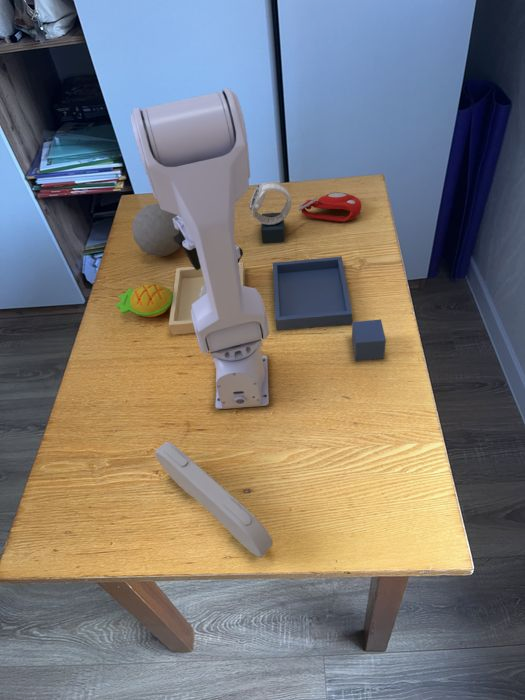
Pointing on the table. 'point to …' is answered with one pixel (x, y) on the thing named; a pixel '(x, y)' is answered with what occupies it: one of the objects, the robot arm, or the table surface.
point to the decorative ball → (155, 231)
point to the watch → (270, 221)
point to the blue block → (368, 340)
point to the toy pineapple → (146, 300)
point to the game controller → (215, 499)
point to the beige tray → (189, 297)
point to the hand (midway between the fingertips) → (214, 276)
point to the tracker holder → (333, 206)
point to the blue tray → (311, 293)
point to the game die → (203, 291)
